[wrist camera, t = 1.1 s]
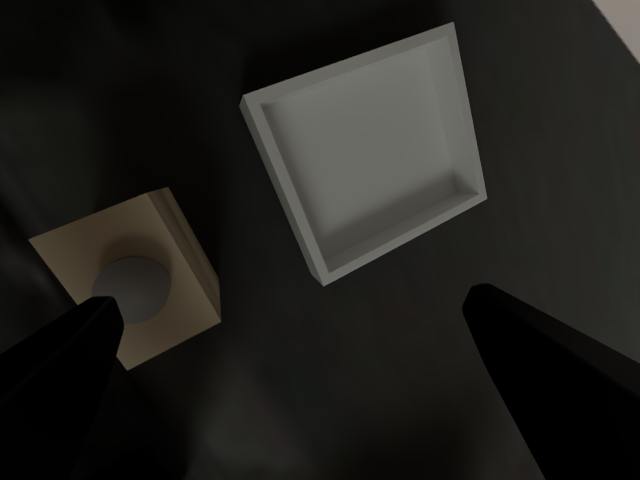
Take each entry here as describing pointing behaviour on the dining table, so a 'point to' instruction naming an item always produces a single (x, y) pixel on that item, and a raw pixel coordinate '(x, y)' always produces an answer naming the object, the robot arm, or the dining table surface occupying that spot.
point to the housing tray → (370, 149)
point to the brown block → (138, 271)
